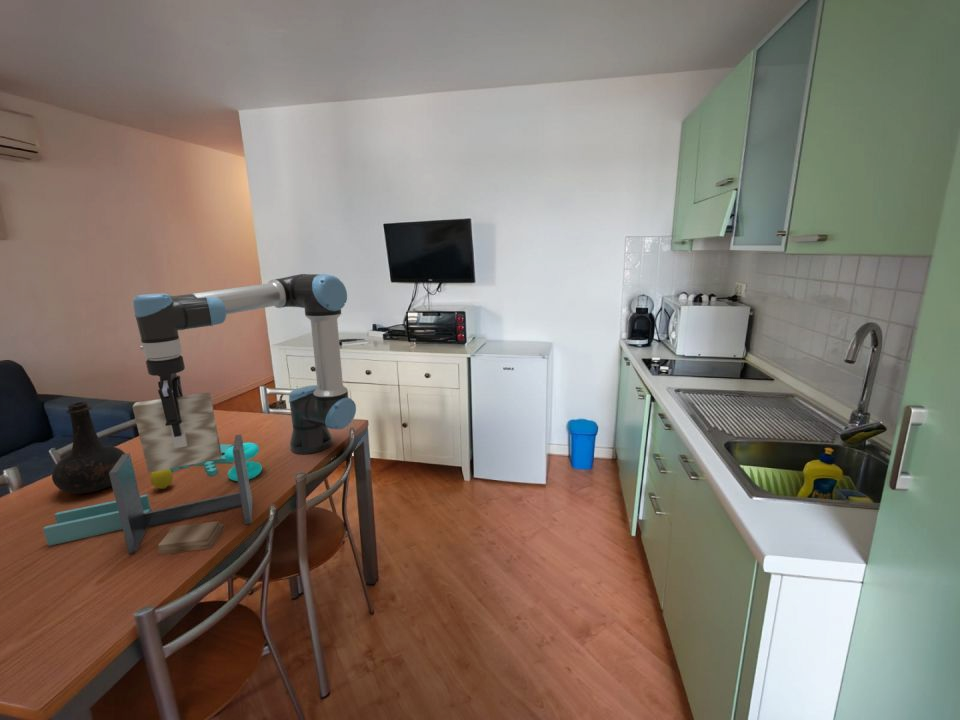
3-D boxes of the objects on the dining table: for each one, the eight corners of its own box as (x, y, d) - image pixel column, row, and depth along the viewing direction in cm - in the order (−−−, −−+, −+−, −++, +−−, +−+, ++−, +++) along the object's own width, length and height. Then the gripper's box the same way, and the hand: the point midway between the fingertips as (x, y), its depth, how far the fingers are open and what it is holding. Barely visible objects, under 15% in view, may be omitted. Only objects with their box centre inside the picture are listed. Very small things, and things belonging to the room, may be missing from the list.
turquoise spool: (251, 438, 148) (263, 446, 141) (255, 464, 151) (267, 474, 144) (219, 448, 141) (230, 457, 134) (224, 475, 143) (235, 486, 137)
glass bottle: (42, 505, 127) (16, 417, 121) (81, 476, 144) (60, 397, 138) (112, 497, 131) (91, 411, 125) (142, 469, 148) (125, 392, 141)
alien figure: (213, 477, 143) (250, 450, 163) (212, 471, 143) (249, 445, 162) (158, 475, 145) (201, 448, 165) (157, 469, 145) (200, 443, 164)
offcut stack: (224, 529, 116) (223, 519, 115) (212, 549, 108) (210, 539, 107) (175, 535, 114) (173, 525, 113) (158, 556, 106) (156, 546, 105)
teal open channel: (151, 509, 125) (147, 494, 124) (144, 524, 118) (140, 508, 117) (61, 528, 116) (56, 512, 115) (48, 546, 110) (43, 528, 108)
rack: (252, 501, 128) (241, 433, 123) (251, 523, 118) (239, 449, 112) (141, 526, 117) (123, 452, 111) (128, 553, 106) (108, 473, 101)
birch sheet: (221, 454, 119) (210, 392, 114) (220, 458, 116) (208, 395, 111) (151, 467, 112) (135, 402, 107) (148, 472, 109) (132, 406, 105)
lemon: (178, 485, 137) (174, 463, 135) (161, 494, 132) (156, 471, 130) (166, 483, 139) (161, 460, 137) (148, 491, 134) (143, 468, 132)
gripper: (153, 352, 112) (171, 435, 118) (136, 366, 98) (158, 459, 104) (187, 348, 115) (203, 429, 121) (176, 362, 101) (194, 453, 107)
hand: (182, 443), depth 113 cm, fingers closed on birch sheet, 3 cm apart
